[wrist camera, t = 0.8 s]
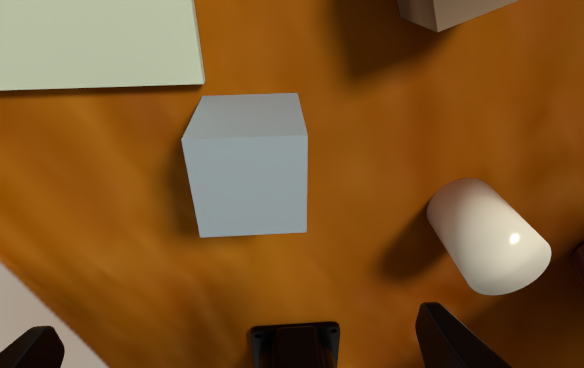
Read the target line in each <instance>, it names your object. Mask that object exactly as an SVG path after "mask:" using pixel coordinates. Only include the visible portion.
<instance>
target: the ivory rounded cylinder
mask: <svg viewBox="0 0 584 368" xmlns="http://www.w3.org/2000/svg"><path fill="white" fill-rule="evenodd" d="M427 219H428V221H429V223H430V225H431V226H432V228H433V229H434V231H435V232H436V234H437V236H438V237H439V239H440V240H441V242H442V243H443V245H444V247H445V248H446V250H447V251H448V253H449V254H450V256H451V258H452V259H453V261H454V262H455V264H456V265H457V267H458V269H459V270H460V272H461V273H462V275H463V276H464V278H465V280H466V281H467V283H468V284H469V286H470V287H471V288H472V289H473V290H474V291H476V292H478V293H481V294H484V295H502V294H507V293H511V292H514V291H517V290H519V289H521V288H523V287H525V286H527V285H529V284H530V283H532V282H533V281H534V280H536V279H537V278H538V277H539V276H540V275H541V274H542V273H543V272H544V271H545V269H546V268H547V266H548V264H549V262H550V259H551V248H550V246H549V244H548V243H547V242H546V241H545V240H544V239H543V238H542V237H541V236H540V235H539V234H538V233H537V232H536V231H535V230H534V229H533V228H532V227H531V226H530V225H529V224H528V223H527V222H526V221H525V220H524V219H523V218H522V217H521V216H520V215H519V214H518V213H517V212H516V211H515V210H514V209H513V208H512V207H511V206H510V205H509V204H508V203H507V202H506V201H504V200H503V199H502V198H501V197H500V196H499V195H498V194H497V193H496V192H495V191H494V190H493V189H492V188H491V187H490V186H489V185H488V184H487V183H486V182H484V181H482V180H480V179H476V178H463V179H458V180H455V181H453V182H450V183H448V184H447V185H445V186H443V187H442V188H441V189H440V190H438V191H437V192H436V193H435V194H434V196H433V197H432V198H431V200H430V202H429V204H428V207H427Z"/></svg>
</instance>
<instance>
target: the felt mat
mask: <svg viewBox="0 0 584 368" xmlns="http://www.w3.org/2000/svg"><path fill="white" fill-rule="evenodd" d="M204 82H205V74H204V67H203V60H202V53H201V46H200V39H199V32H198V25H197V18H196V11H195V4H194V0H0V90H30V89H62V88H94V87H126V86H157V85H189V84H204Z"/></svg>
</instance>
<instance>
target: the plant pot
mask: <svg viewBox="0 0 584 368" xmlns="http://www.w3.org/2000/svg"><path fill="white" fill-rule="evenodd" d="M573 263H574V266H575V268H576V271H577V273H578V276H579V278H580V280H581V283H582V285H583V288H584V244H583V245H582V246H580V247H579V248H578V249H577V250H576V251H575V253H574V255H573Z"/></svg>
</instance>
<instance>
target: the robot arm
mask: <svg viewBox="0 0 584 368" xmlns="http://www.w3.org/2000/svg"><path fill="white" fill-rule="evenodd" d="M415 328H416V334H417V338H418V341H419V345H420V349H421V352H422V356H423V360H424V363H425V367H426V368H512V367H511V366H510V365H509V364H507V363H506V362H505V361H504V360H503V359H502V358H501V357H500V356H498V355H497V354H496V353H495V352H494V351H493V350H492V349H491V348H490V347H488V346H487V345H486V344H485V343H484V342H483V341H482V340H481V339H479V338H478V337H477V336H476V335H475V334H474V333H473V332H472V331H470V330H469V329H468V328H467V327H466V326H465V325H464V324H463V323H461V322H460V321H459V320H458V319H457V318H456V317H455V316H454V315H452V314H451V313H450V312H449V311H448V310H447V309H446V308H445V307H443V306H442V305H441V304H440V303H438V302H425V303H422V304H421V305H420V308H419V312H418V316H417V320H416V324H415ZM339 339H340V327H339V324H338V323H336V322H326V323H310V324H295V325H279V326H264V327H255V328H253V329H252V330H251V342H252V350H253V358H254V367H255V368H337V360H338V350H339ZM63 357H64V345H63V343H62V341H61V340H60V338H59V336H58V334H57V333H56V331H55V329H54V328H53V327H51V326H37V327H33V328H31V329H29V330H28V331H27V332H25V333H24V334H23V335H21V336H20V337H19V338H18V339H16V340H15V341H14V342H13V343H12V344H10V345H9V346H8V347H7V348H5V349H4V350H3V351H2V352H0V368H60V367H61V364H62V361H63Z"/></svg>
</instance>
